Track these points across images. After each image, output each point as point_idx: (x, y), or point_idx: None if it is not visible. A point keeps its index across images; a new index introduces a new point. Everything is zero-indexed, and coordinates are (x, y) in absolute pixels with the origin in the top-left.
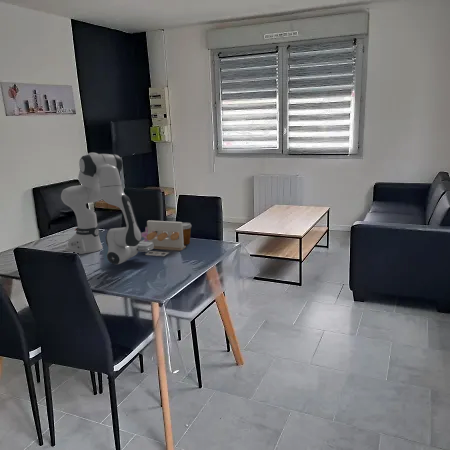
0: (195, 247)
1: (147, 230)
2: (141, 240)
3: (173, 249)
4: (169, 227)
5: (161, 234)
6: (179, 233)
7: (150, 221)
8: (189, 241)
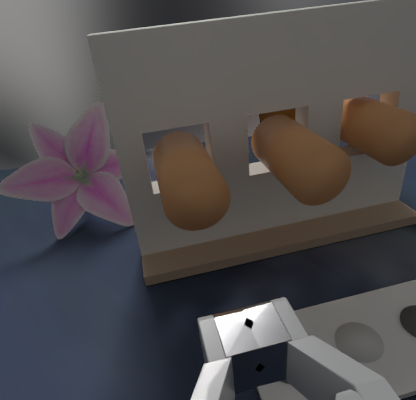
0: (413, 171)
1: (51, 145)
2: (245, 321)
3: (367, 230)
4: (329, 61)
5: (316, 137)
6: (403, 98)
7: (130, 31)
8: None
